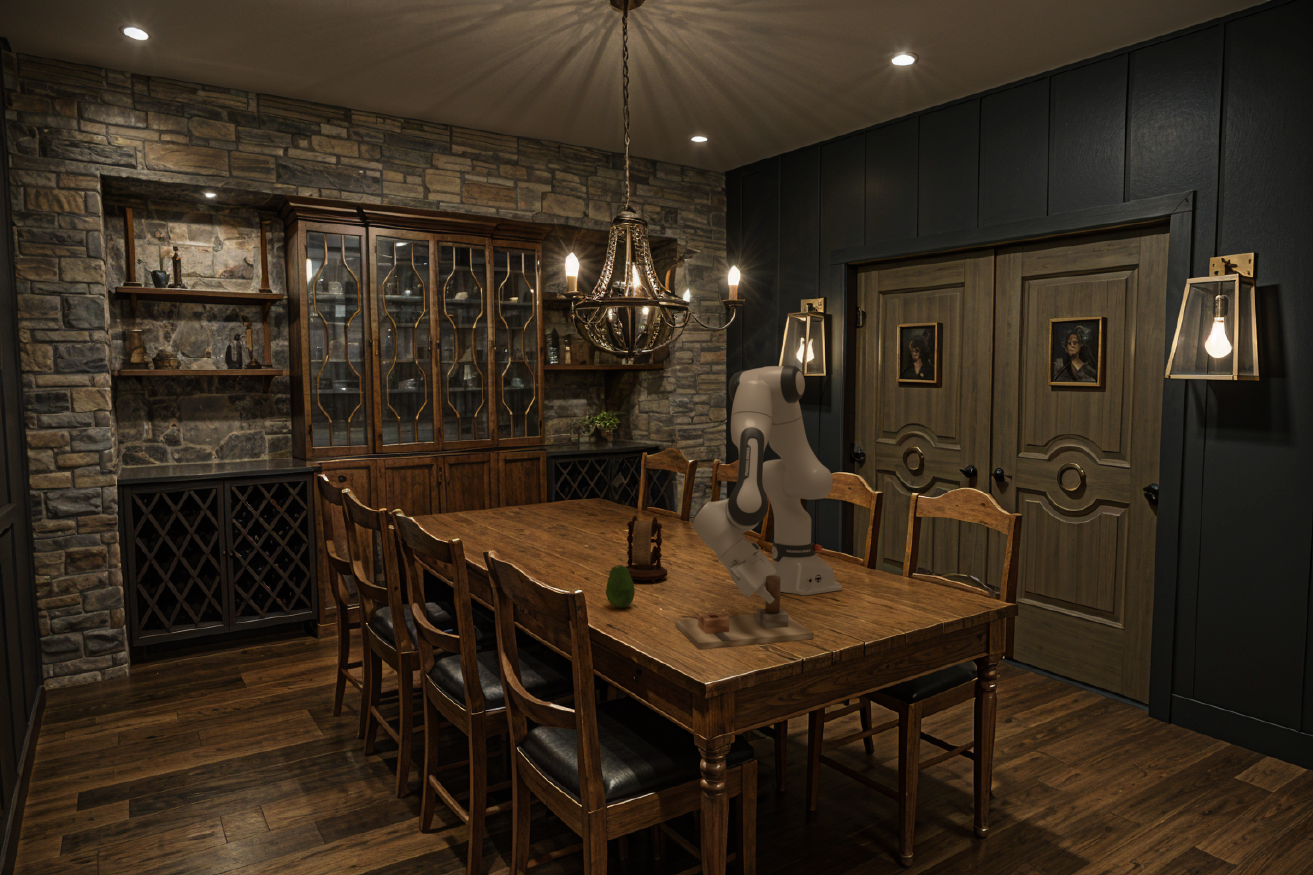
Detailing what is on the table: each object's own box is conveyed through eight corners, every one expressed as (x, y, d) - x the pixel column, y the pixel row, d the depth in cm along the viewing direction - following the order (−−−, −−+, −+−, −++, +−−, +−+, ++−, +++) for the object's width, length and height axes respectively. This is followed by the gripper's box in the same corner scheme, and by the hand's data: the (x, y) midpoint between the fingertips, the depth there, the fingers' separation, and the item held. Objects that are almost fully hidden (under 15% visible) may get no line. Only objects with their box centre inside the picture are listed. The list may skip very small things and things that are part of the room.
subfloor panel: (781, 617, 214) (782, 600, 214) (813, 638, 197) (814, 620, 196) (675, 625, 205) (675, 608, 205) (698, 649, 188) (699, 629, 188)
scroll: (614, 582, 248) (614, 518, 246) (629, 571, 262) (630, 511, 260) (659, 586, 243) (660, 521, 242) (672, 575, 258) (673, 514, 256)
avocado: (609, 602, 225) (609, 561, 224) (636, 604, 224) (637, 562, 223) (602, 611, 217) (603, 567, 216) (631, 612, 216) (631, 569, 215)
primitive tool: (792, 558, 286) (792, 548, 285) (779, 559, 283) (779, 549, 283) (763, 547, 303) (763, 538, 303) (750, 548, 301) (750, 539, 300)
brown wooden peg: (775, 620, 205) (776, 574, 204) (781, 624, 202) (783, 578, 201) (762, 621, 204) (763, 575, 203) (768, 625, 201) (769, 579, 200)
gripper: (735, 557, 195) (773, 602, 192) (758, 542, 214) (793, 582, 211) (717, 573, 197) (755, 617, 194) (742, 556, 216) (776, 596, 213)
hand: (775, 599), depth 202 cm, fingers closed on brown wooden peg, 4 cm apart
